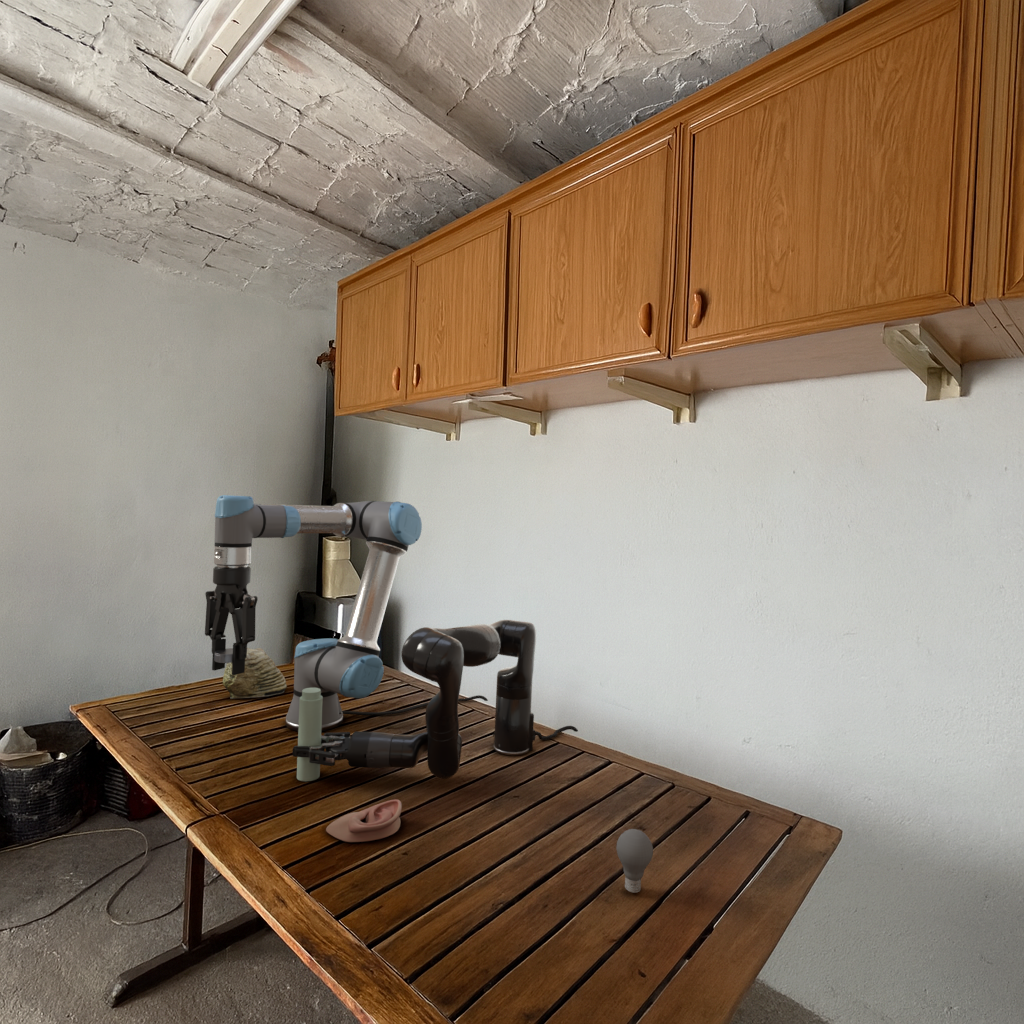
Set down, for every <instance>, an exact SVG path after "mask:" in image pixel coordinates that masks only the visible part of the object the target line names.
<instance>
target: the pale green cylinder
mask: <svg viewBox="0 0 1024 1024" xmlns="http://www.w3.org/2000/svg"><path fill="white" fill-rule="evenodd" d="M320 694H321V689H319V688H306V689H303V690H302V696H301V697H300V701H299V728H298V731H297V733H298V734H297V746H310V747H312V746H320V745H321V735H322V731H321V728H322V702H323V697H322V696H321V695H320ZM319 751H321V750H319ZM309 760H310V759H309V757H296V779H297V780H298V781H300V782H312V781H316V780H317V779H319V778H320V775H321V764H315V763H310V762H309Z"/></svg>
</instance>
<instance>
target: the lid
mask: <svg viewBox="0 0 1024 1024" xmlns="http://www.w3.org/2000/svg"><path fill="white" fill-rule="evenodd" d="M232 658H233V647H232V648H229V647H228V648H226V649H220V650H217V651H215V656H214V661H215V662H218V663H225V664H227V663H232Z"/></svg>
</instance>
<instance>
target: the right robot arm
mask: <svg viewBox="0 0 1024 1024" xmlns="http://www.w3.org/2000/svg"><path fill="white" fill-rule="evenodd" d="M537 637H538V636H537V629H536V626H535V624H534V623H533V622H528V621H522V620H513V619H501V620H497V621H495V622H492V623H490V624H487V623H477V624H470V625H463V626H455V627H449V628H438V627H430V626H429V627H428V626H426V627H425V626H424V627H420V628H418V629H415V630H414V631H413V632H412V633H410V634H409V636H407V638H406V639H405V641H404V642H403V645H402V648H401V653H400V657H401V661H402V663H403V665H404V666H405V668H406V669H408V670H409V671H411V672H412V673H414V674H415V675H418V676H420V677H422V678H425V679H427V680H429V681H430V682H433V683H437V685H438V687H439V691H438V692H437V693H436V694H435V695H434V696H433V697H431V699H430V700H429V701H428V702H429V703H428V702H427V703H428V705H427V706H426V708H425V713H424V720H425V729H426V731H424V732H419V733H415V734H397V733H395V734H394V733H388V732H380V731H359V730H356V731H353V732H352V734H351V732H350V731H339V732H338V731H337V732H336V731H335V732H324V733H323V735H322V734H321V745H320V746H312V747H310V746H298V745H294V746H293V747H292V757H294V758H297V757H309V759H310V760H309V762H310V763H315V764H320V766H321V765H323V766H328V767H334V766H335V765H336V761H341V760H346V761H347V762H348V766H349V767H351V768H368V769H385V768H396V769H413V768H415V767H416V766H417V765H418V763H419V760H420V758H421V757H422V755H424V754H427V758H426V761H427V767H428V770H429V772H430V773H431V774H432V775H433V776H435V778H437V779H441V780H446V779H450V778H452V777H453V776H455V775H456V774H457V773H458V771H459V768H460V764H461V755H462V746H463V738H462V736H461V734H460V723H459V721H460V720H459V702H458V699H460V694H461V693H460V692H461V686H462V678H463V670H464V667H468V668H472V667H473V668H474V667H479V666H483V665H486V664H489V663H491V662H493V661H494V660H495V659H496V658H498V656H499V655H500V656H505V657H512V658H517V662H516V664H515V665H512V666H507V667H503V668H501V669H499V670H498V671H497V673H496V691H495V695H496V696H495V712H494V713H495V715H494V731H493V732H492V738H493V750H494V751H495V752H496V753H498V754H501V755H505V756H521V755H525V754H527V753H529V752H532V751H533V745H534V744H533V743H534V741H536V736H537V737H538V739H539V740H540V741H549V740H552V739H554V738H557V736H558V734H560V733H563V732H565V731H569V730H572V731H573V732H579V730H578V728H576V726H573V725H566V726H563V727H560V728H558V729H556V730H554V732H553V733H552V734H549V735H542V733H541V732H539V731H537V730H536V729H534V725H535V724H534V723H535V714H534V713H533V712H532V697H533V678H534V673H535V660H536V659H535V658H536V650H537ZM319 750H321V751H319Z"/></svg>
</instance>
